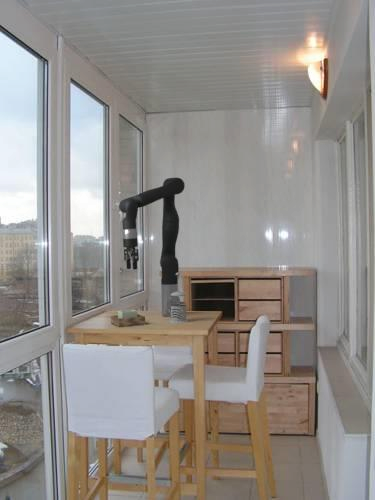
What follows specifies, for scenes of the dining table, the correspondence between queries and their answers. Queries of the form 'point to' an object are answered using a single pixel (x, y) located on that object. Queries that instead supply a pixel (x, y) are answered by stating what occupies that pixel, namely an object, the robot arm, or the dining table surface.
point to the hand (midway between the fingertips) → (131, 269)
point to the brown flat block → (128, 321)
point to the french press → (178, 317)
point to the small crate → (127, 314)
